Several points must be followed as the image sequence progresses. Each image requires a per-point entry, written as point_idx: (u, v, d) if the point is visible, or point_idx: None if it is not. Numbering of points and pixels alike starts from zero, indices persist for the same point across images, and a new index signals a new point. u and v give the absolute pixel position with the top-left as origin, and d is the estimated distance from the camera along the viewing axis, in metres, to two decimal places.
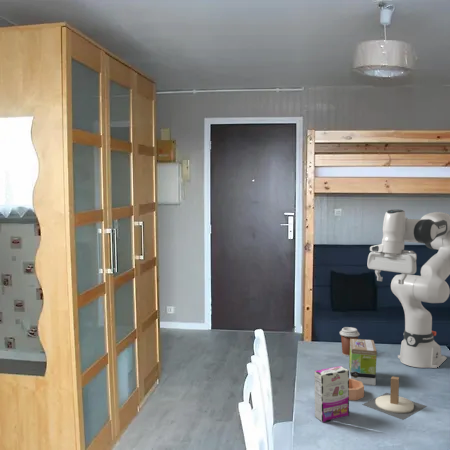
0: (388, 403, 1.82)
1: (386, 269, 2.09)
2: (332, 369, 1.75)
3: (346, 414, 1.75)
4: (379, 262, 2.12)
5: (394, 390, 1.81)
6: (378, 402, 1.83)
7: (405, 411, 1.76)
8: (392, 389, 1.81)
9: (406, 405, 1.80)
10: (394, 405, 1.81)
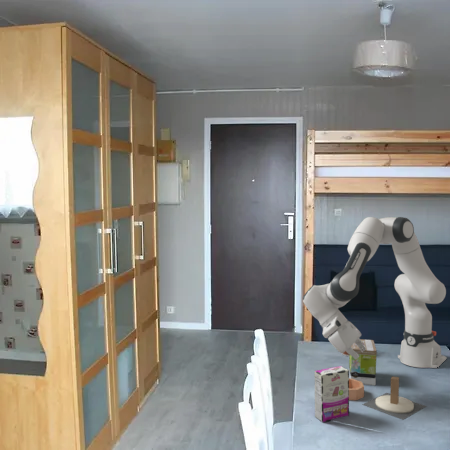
0: (388, 403, 1.82)
1: (353, 340, 1.87)
2: (332, 369, 1.75)
3: (346, 414, 1.75)
4: (346, 336, 1.85)
5: (394, 390, 1.81)
6: (378, 402, 1.83)
7: (405, 411, 1.76)
8: (392, 389, 1.81)
9: (406, 405, 1.80)
10: (394, 405, 1.81)
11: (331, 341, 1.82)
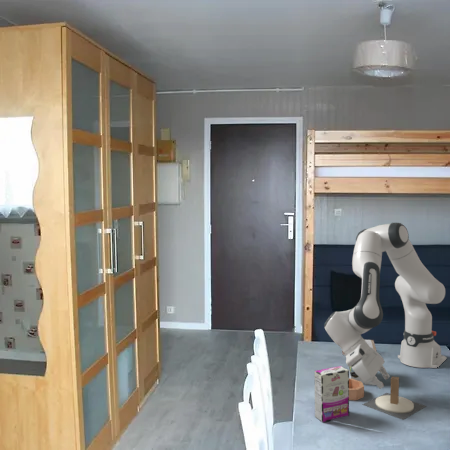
0: (388, 403, 1.82)
1: (377, 368, 1.83)
2: (332, 369, 1.75)
3: (346, 414, 1.75)
4: (370, 365, 1.81)
5: (394, 390, 1.81)
6: (378, 402, 1.83)
7: (405, 411, 1.76)
8: (392, 389, 1.81)
9: (406, 405, 1.80)
10: (394, 405, 1.81)
11: (355, 370, 1.79)
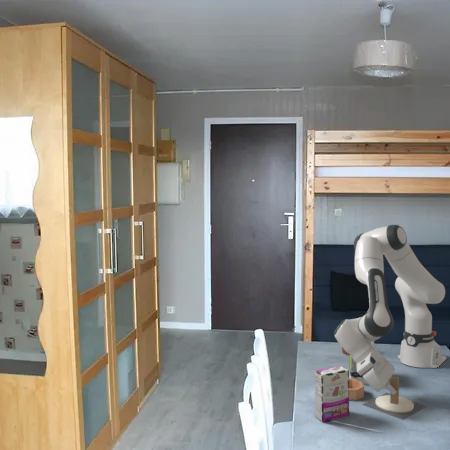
0: (388, 403, 1.82)
1: (388, 376, 1.82)
2: (332, 369, 1.75)
3: (346, 414, 1.75)
4: (381, 373, 1.80)
5: None
6: (378, 402, 1.83)
7: (405, 411, 1.76)
8: None
9: (406, 405, 1.80)
10: (394, 405, 1.81)
11: (366, 379, 1.77)
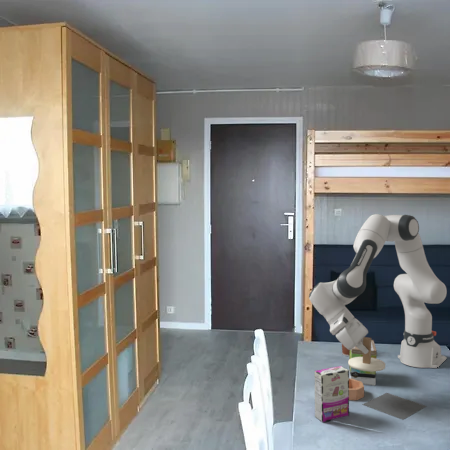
0: (360, 363, 1.86)
1: (361, 337, 1.86)
2: (332, 369, 1.75)
3: (346, 414, 1.75)
4: (354, 333, 1.84)
5: None
6: (351, 362, 1.87)
7: (376, 369, 1.80)
8: None
9: (378, 364, 1.84)
10: (366, 364, 1.85)
11: (339, 338, 1.81)
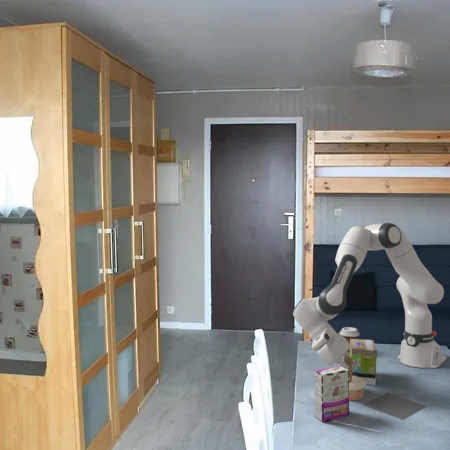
0: None
1: (342, 352, 1.92)
2: (332, 369, 1.75)
3: (346, 414, 1.75)
4: (335, 349, 1.90)
5: None
6: None
7: (356, 388, 1.86)
8: None
9: (358, 383, 1.90)
10: None
11: (320, 354, 1.87)
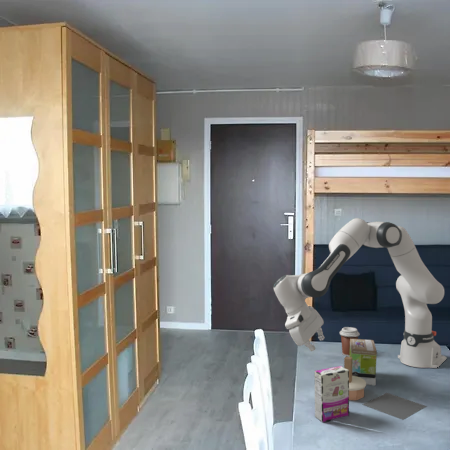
0: None
1: (313, 332, 2.01)
2: (332, 369, 1.75)
3: (346, 414, 1.75)
4: (306, 330, 1.98)
5: None
6: None
7: (356, 388, 1.86)
8: None
9: (358, 383, 1.90)
10: None
11: (291, 334, 1.96)
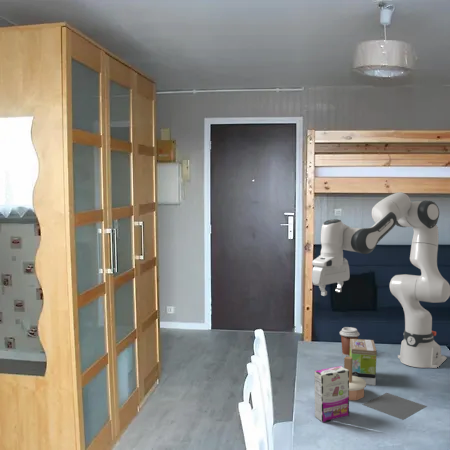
0: None
1: (333, 281, 2.05)
2: (332, 369, 1.75)
3: (346, 414, 1.75)
4: (328, 276, 2.03)
5: None
6: None
7: (356, 388, 1.86)
8: None
9: (358, 383, 1.90)
10: None
11: (313, 271, 2.02)
